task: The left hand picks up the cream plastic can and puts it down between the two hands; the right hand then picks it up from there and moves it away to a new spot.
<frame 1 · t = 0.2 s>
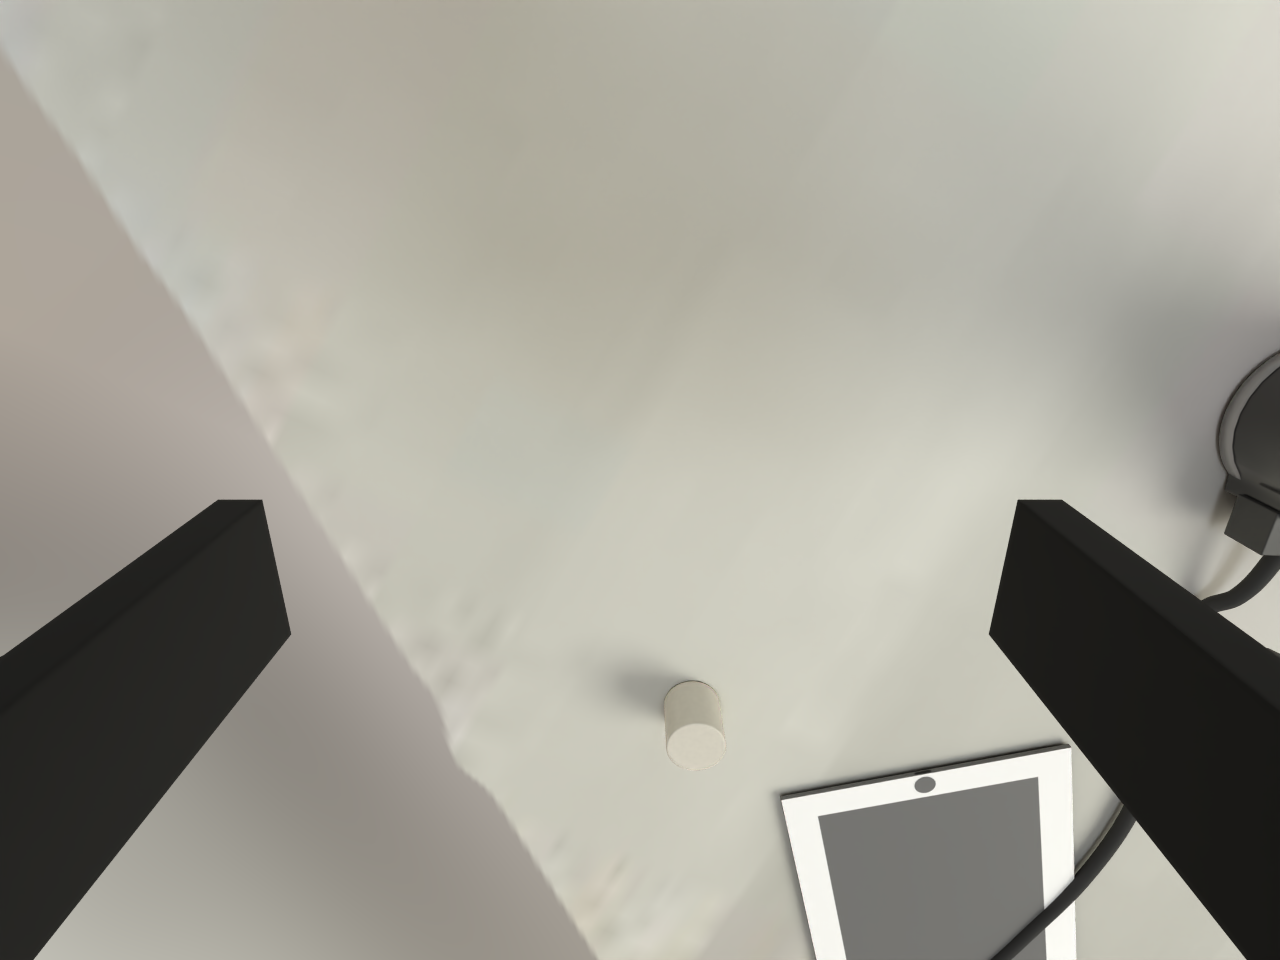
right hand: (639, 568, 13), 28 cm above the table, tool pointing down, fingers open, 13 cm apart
tablet: (938, 922, 56), on the table
can: (691, 703, 48), on the table
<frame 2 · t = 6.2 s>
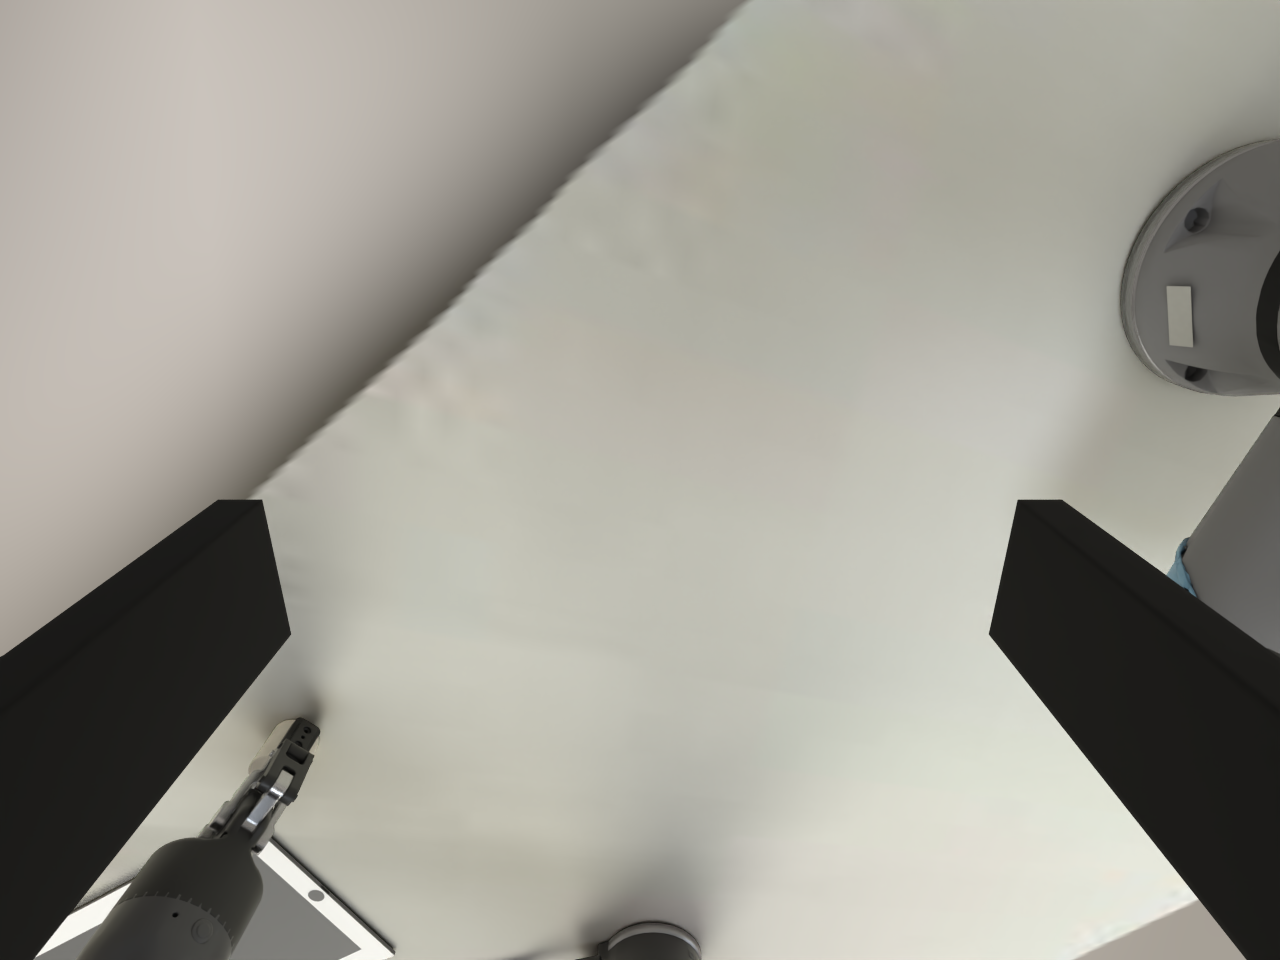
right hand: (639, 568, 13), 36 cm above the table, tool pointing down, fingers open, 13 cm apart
left hand: (293, 741, 59), fingers closed on can, 3 cm apart
tablet: (199, 947, 69), on the table
can: (296, 737, 59), on the table, touching left hand
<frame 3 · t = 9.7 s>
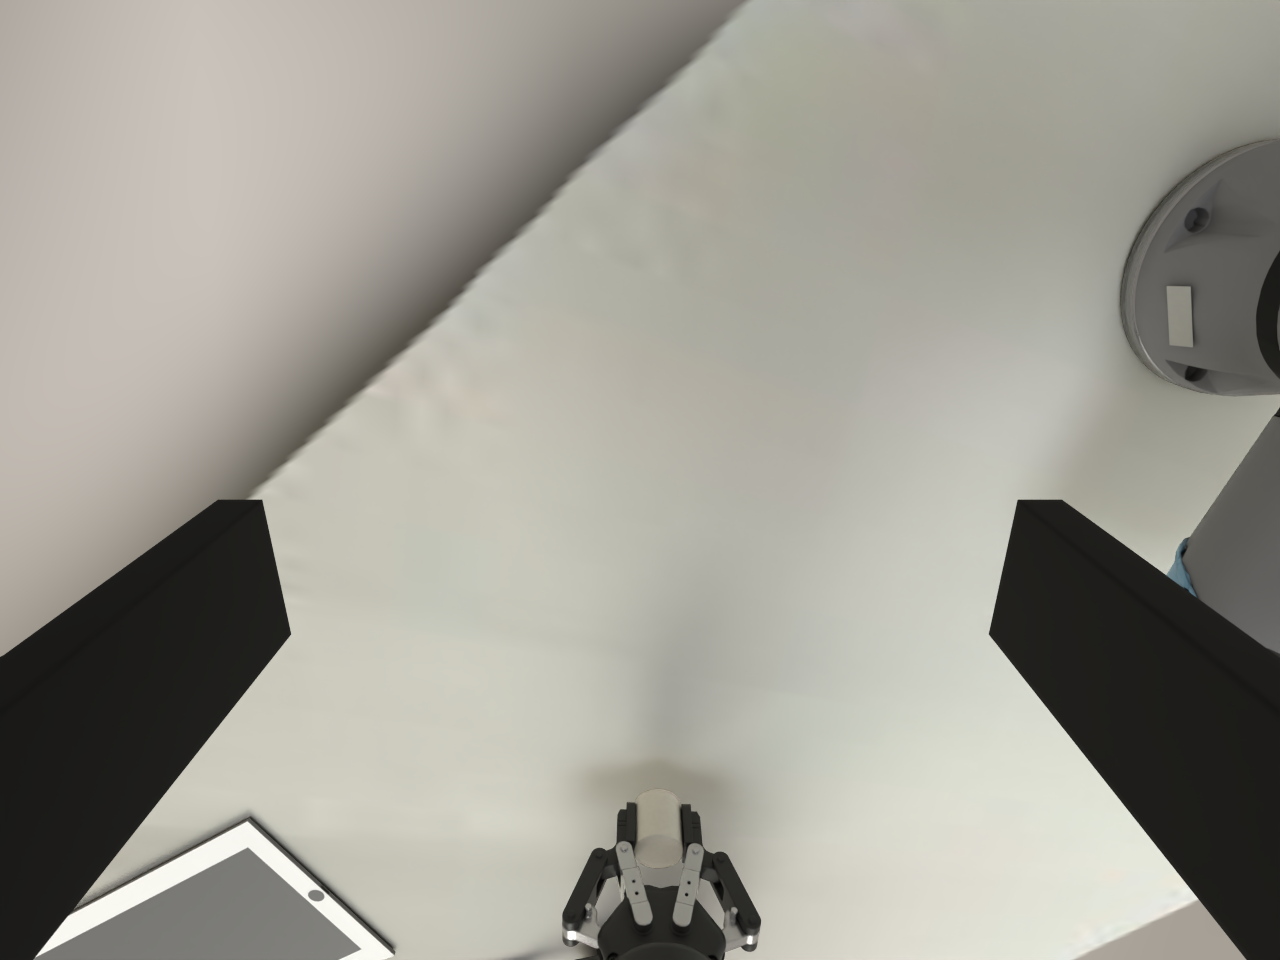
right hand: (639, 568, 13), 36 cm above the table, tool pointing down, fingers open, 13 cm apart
left hand: (657, 811, 57), fingers closed on can, 3 cm apart
tablet: (199, 947, 69), on the table
can: (657, 805, 57), point 4 cm above the table, touching left hand
when the left hand's fingers open (1 cm above the table, at t = 13.6 s): can stays where it is, on the table.
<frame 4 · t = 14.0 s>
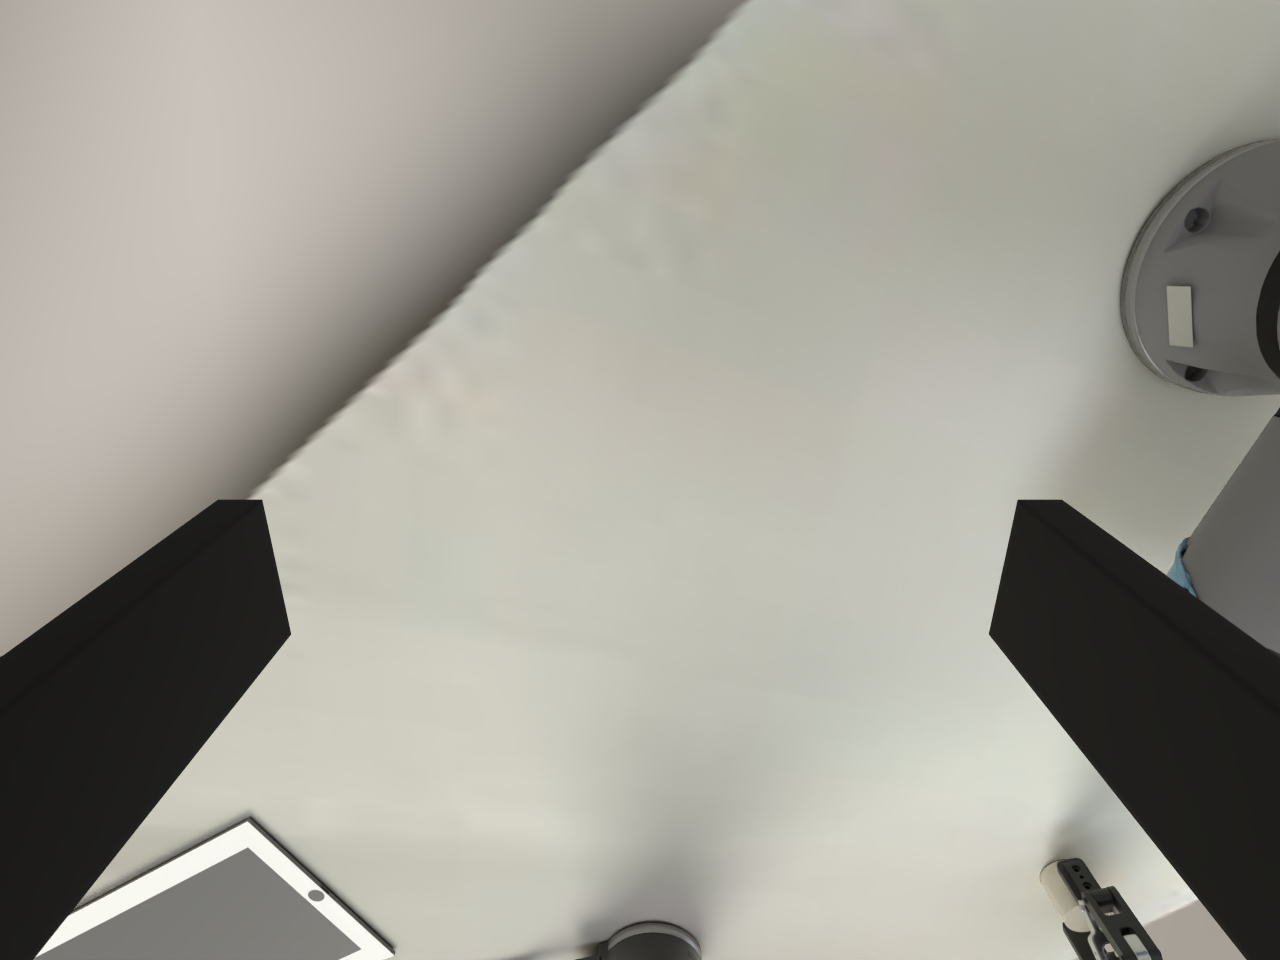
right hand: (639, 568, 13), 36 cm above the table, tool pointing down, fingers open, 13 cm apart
tablet: (199, 947, 69), on the table
can: (1060, 874, 65), on the table
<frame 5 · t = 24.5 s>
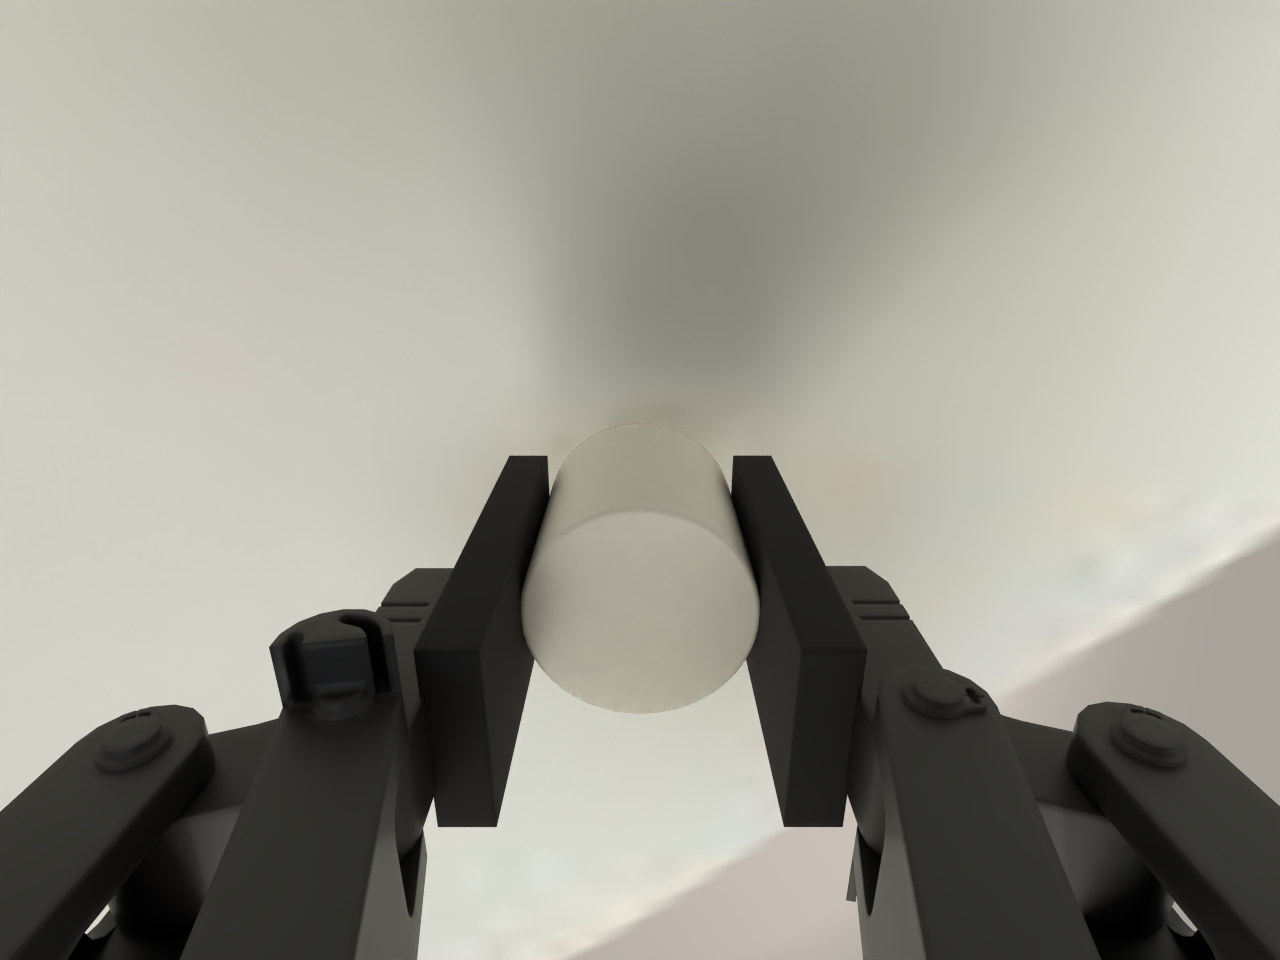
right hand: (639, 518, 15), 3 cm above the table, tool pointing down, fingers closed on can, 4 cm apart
can: (640, 507, 15), point 2 cm above the table, touching right hand
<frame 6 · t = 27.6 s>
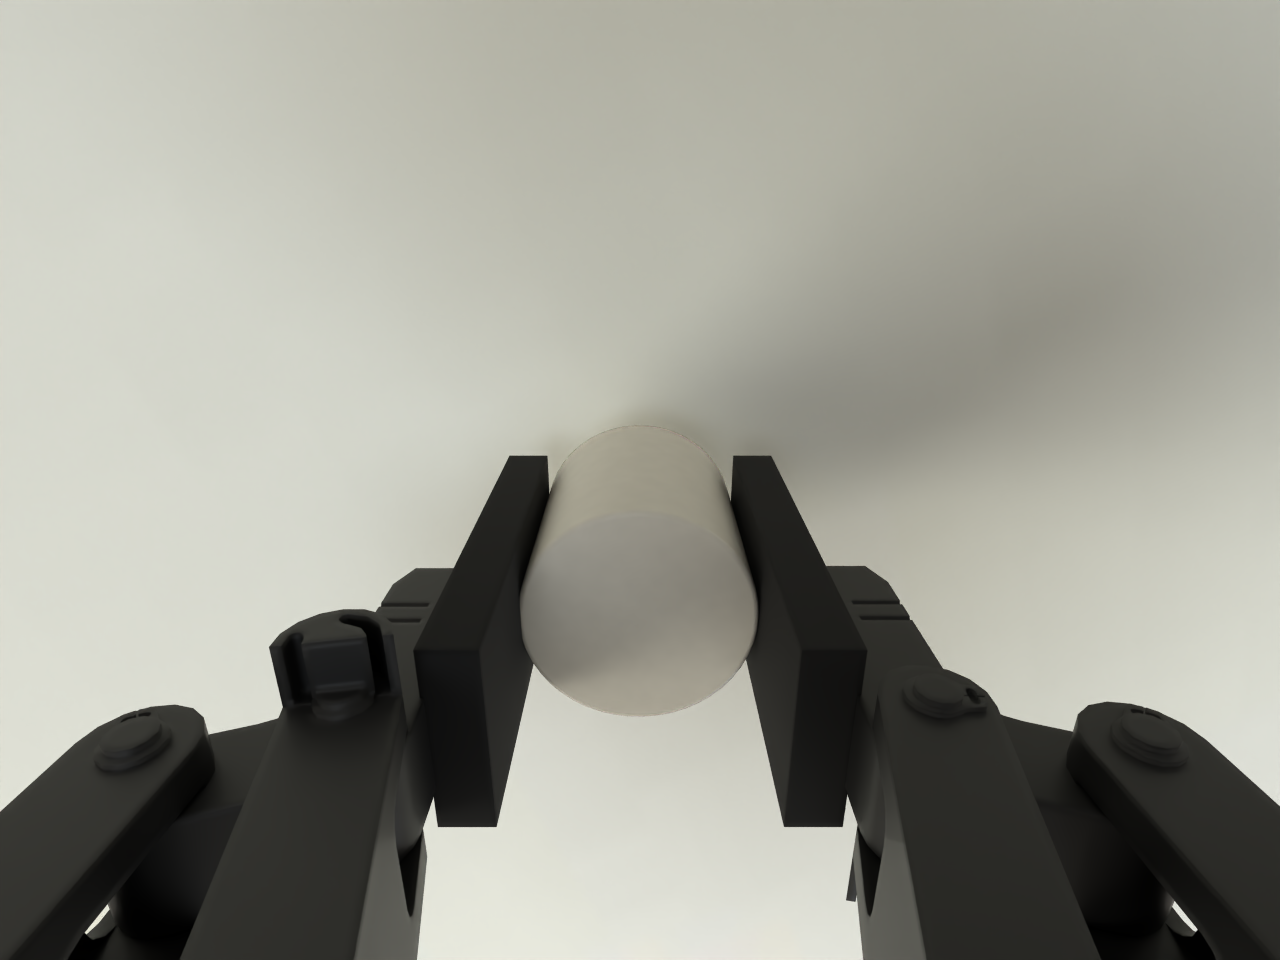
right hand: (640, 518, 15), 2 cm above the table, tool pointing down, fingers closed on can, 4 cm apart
can: (639, 509, 15), point 2 cm above the table, touching right hand
when the right hand's fingers open (0 cm above the table, at t = 30.6 s): can stays where it is, on the table.
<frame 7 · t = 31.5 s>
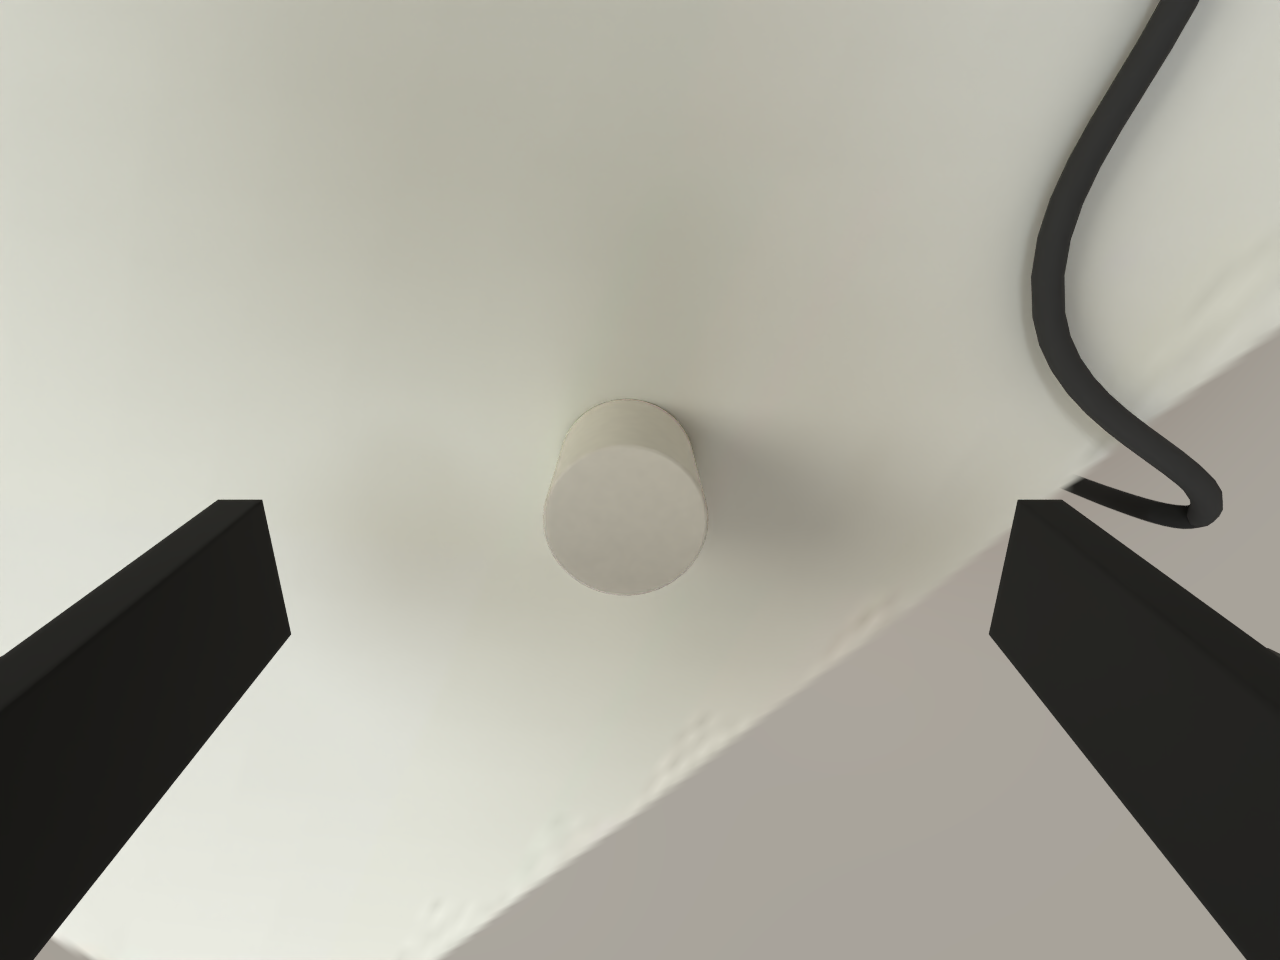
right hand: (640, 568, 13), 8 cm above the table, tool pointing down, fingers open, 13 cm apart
can: (626, 463, 20), on the table
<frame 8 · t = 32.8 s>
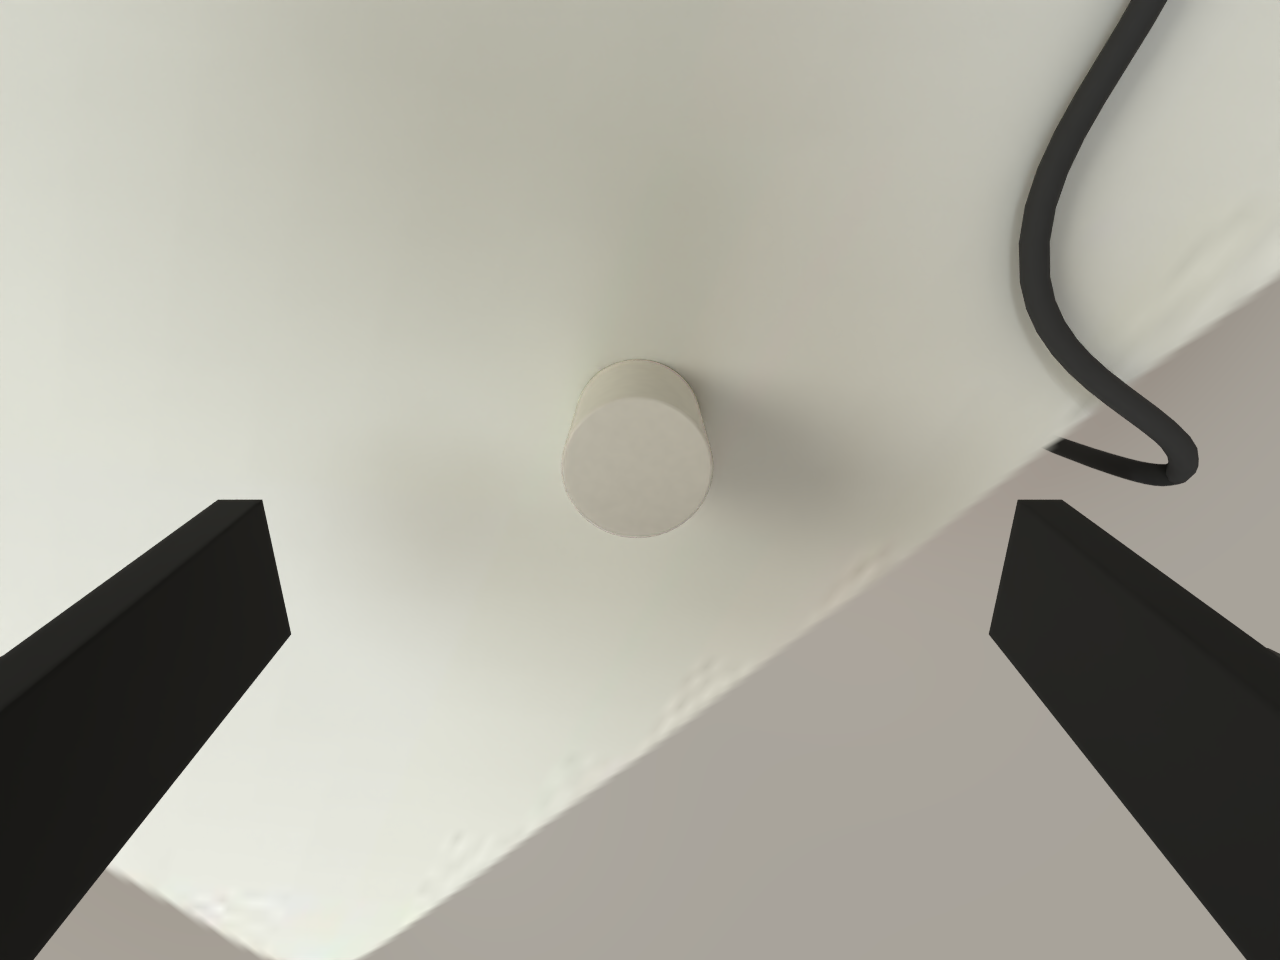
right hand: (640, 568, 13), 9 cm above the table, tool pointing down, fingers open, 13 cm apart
can: (637, 420, 21), on the table
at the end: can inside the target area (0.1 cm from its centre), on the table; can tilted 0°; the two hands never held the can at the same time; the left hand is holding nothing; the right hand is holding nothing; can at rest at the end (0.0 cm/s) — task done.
